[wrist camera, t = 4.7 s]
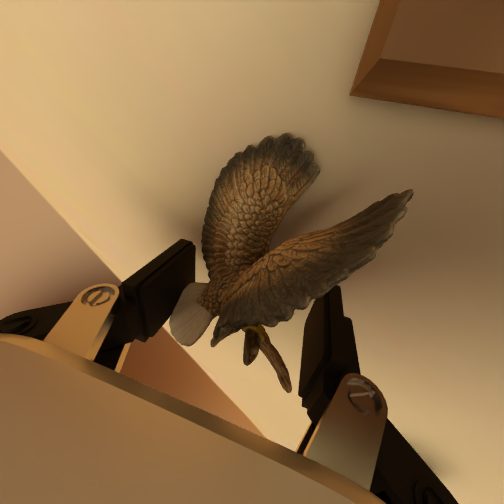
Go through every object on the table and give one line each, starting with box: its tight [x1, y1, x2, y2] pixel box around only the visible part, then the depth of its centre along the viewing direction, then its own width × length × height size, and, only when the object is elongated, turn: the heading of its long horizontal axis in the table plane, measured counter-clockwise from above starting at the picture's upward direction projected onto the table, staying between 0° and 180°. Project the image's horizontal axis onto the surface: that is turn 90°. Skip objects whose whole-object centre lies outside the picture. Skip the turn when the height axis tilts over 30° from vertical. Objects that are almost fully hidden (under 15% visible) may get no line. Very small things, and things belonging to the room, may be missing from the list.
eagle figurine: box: [169, 133, 413, 393], centre depth 8 cm, size 8×7×9 cm
